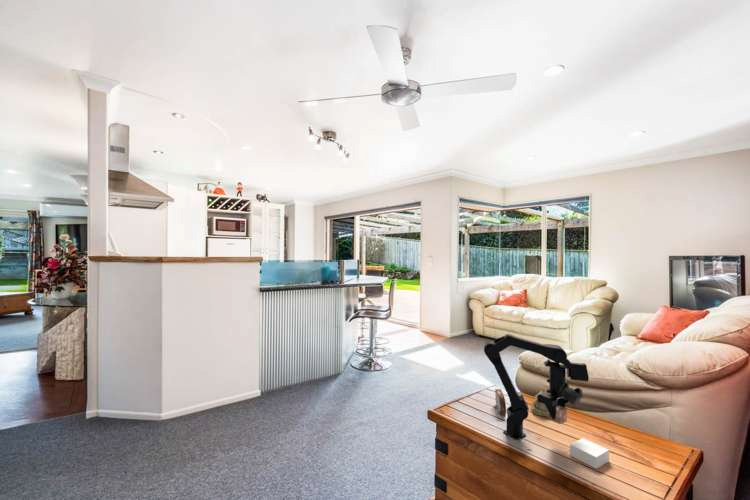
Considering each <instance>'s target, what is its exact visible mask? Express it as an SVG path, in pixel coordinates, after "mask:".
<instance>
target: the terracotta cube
mask: <svg viewBox="0 0 750 500" xmlns="http://www.w3.org/2000/svg"><path fill="white" fill-rule="evenodd" d="M547 419H548V420H549V421H551V422H554V423H556V424H558V425H562V424H565V423H567V421H568V408H567V407H566V408H564V407H562V406H558V407H557V408H556V416H555V419H552V418H551V416H550V413H549V411H548V416H547Z"/></svg>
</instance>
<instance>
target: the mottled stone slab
mask: <svg viewBox="0 0 750 500" xmlns="http://www.w3.org/2000/svg"><path fill="white" fill-rule="evenodd" d="M494 390H495V391H494V393H495V405H496V408H497V410H498V413H499V414H501V415H506V414H507V406H506V405H507V404H506V399H505V398H506V397H505V396H504V395H505V394H504V393H503V391H502V389H501V388H499V389H497V388H496V389H494Z"/></svg>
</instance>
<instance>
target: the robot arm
mask: <svg viewBox="0 0 750 500" xmlns="http://www.w3.org/2000/svg"><path fill="white" fill-rule="evenodd" d="M511 346H512V347H515V348H519V349H521V350H526V351H529V352H532V353H535V354H539V355H541V356H543V357H545V359H547V360H546V361H544V362H543V364H544V366H545V367H547V368H548V367H549V369H548V371H549V372H548V373H549V374H548V375H549V377H548V378H546V382H547V383H549V385H548V386H549V388H548V389H547V388H546V393H541V394H539V395H537V394H536V395H537V401H538V402H541V403H543V404H545V406H546V407H547V409H548V411H549V413H550V416H551V418H552V419H555V416H556V408H557V407H558V406H562V407H564V408H567V405H568V403H570V404H571V405H576V404H579V403H580V402H581V399H583V398H584V396H583V395H584V394H583V390H582V389H581V388H580V387H576V388H575V389H574V387H570V386H569V381H567V380H566V379H567V378H569V379H570V380H571V381H577V382H583V383H588V382H589V372H588V369H587V368H588V367H587V366H588V365H587V364H586V363H583V362H581V363H580V362H571V360H570V359H568V356H567V355H568V354H567V352H566V351H565V350H564V349H563V348H562V347H561V346H560V345H558V344H550V343H539V342H536V341H532V340H529V339H525V338H523V337H519V336H515V335H513V334H510V333H507V334H505V335H503V336H500V337H498V338H496V339H494V340H487V341H485V343H484V345H483V350H484V351H483V352H484V354H485V356H486V357H487V359H488V360H489V361H490V363H491V364H492V365H493V366H494V369H495V371H496V372H497V374H498V377H499V379H500V381H501V383H502V385H503V388H504V389H505V391H506V393H507V396H508V399H509V403H510V406H508V407H506V414H507V418H506V429H505V430H503V431H502V432H503V434H505V435H507V436H509V437H510V438H512V439H515V440H520V439H521V438H524V437H526V436H527V434H526V433H524V420H526V419H527V418H528V416H529V411H530V409H529V405H528V402H527V401H526V400H525V398H524V394H519V392H518V391H517V390H516V387H515V384H514V383H513V381H512V379H511V377H510V375H509V372H508V370H507V368H506V366H505V365H504V363H503V361H502V357H501V353H500V352H502V351H504V350H505V349H507V348H509V347H511ZM566 376H567V377H566ZM548 393H549V394H548Z"/></svg>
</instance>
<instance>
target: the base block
mask: <svg viewBox="0 0 750 500" xmlns="http://www.w3.org/2000/svg"><path fill="white" fill-rule="evenodd" d="M569 456H570V457H573V458H575V459H577V460H579V461H580V462H582V463H584V464H587V465H588V466H590V467H592V468H594V469H596V470H597V469H598V468H600V467H602V466H604V465H606V463H608V462H610V449H608V448H605V447H603V446H601V445H599V444H596V443H595V442H592V441H591V440H588V439H586V438H583V437H582V438H580V439H578V440H576V441H574V442H572V443H570V444H569Z"/></svg>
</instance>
